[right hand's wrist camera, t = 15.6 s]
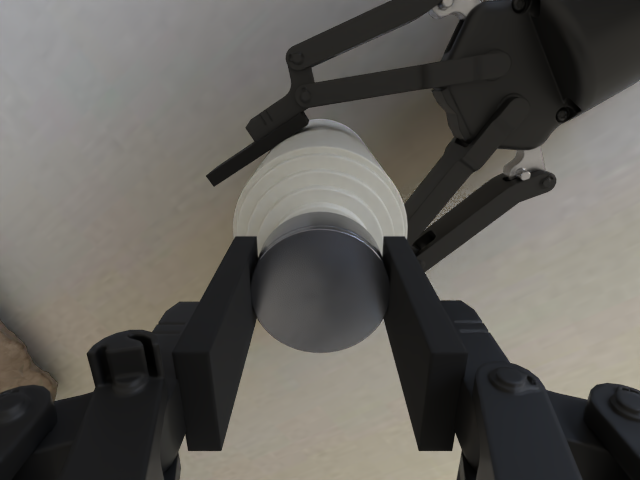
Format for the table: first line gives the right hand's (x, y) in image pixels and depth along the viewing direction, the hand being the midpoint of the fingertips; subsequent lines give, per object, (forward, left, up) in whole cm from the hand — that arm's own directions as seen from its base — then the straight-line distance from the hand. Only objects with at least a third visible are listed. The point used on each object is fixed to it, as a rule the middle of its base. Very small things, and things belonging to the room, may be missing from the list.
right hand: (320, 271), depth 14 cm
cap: (0, 0, +2) cm, 2 cm away
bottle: (0, 0, -17) cm, 17 cm away
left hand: (-5, -1, -11) cm, 12 cm away
